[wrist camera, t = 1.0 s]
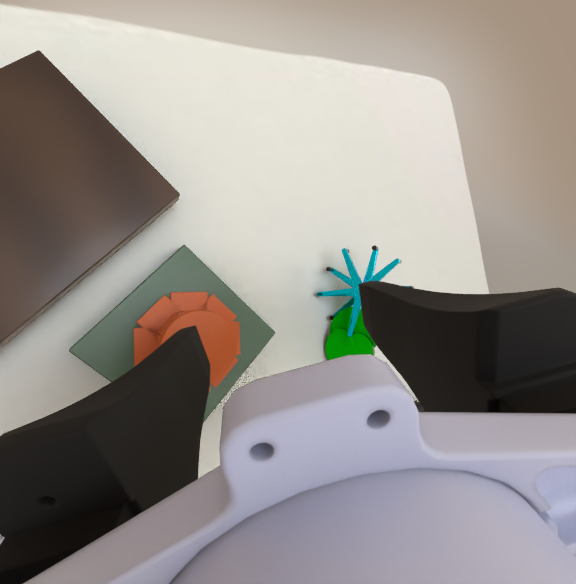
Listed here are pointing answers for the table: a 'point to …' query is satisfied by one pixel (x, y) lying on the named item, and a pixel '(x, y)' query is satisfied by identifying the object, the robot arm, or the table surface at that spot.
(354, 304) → the stick construction toy
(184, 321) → the hat
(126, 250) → the table surface
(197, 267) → the stand
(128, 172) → the stand
